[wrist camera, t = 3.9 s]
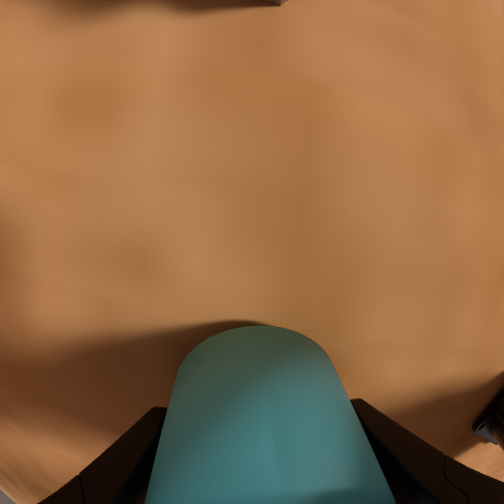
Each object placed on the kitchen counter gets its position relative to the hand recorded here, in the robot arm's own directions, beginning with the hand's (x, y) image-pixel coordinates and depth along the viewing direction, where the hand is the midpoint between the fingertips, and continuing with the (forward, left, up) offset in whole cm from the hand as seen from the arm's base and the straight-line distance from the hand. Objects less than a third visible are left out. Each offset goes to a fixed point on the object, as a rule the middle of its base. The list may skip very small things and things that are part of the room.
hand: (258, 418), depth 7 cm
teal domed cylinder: (0, 0, -1) cm, 1 cm away
